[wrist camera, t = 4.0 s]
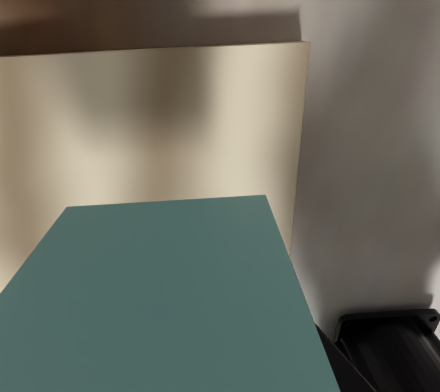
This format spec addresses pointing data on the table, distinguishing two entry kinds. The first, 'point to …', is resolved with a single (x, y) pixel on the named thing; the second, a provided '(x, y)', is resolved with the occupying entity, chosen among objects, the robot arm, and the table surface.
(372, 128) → the table surface
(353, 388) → the robot arm
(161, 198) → the post stand
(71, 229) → the teal rectangular block
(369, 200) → the table surface
